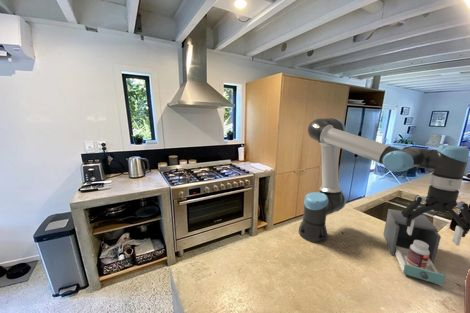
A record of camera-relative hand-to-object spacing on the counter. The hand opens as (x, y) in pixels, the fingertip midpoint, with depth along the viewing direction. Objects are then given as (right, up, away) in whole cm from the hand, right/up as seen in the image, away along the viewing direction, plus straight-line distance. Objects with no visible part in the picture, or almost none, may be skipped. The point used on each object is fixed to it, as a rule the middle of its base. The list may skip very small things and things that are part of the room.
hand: (431, 238), depth 74 cm
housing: (+9, -15, +22) cm, 28 cm away
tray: (+3, -16, +9) cm, 19 cm away
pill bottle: (+2, -16, +9) cm, 18 cm away
